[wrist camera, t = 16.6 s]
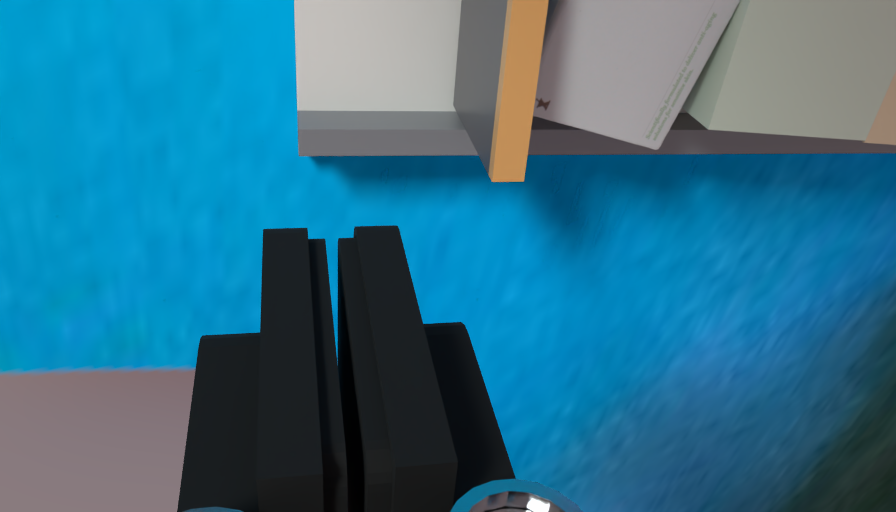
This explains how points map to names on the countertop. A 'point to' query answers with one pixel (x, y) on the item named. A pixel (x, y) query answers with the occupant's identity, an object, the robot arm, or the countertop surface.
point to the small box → (625, 63)
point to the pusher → (499, 80)
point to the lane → (448, 92)
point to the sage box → (799, 68)
